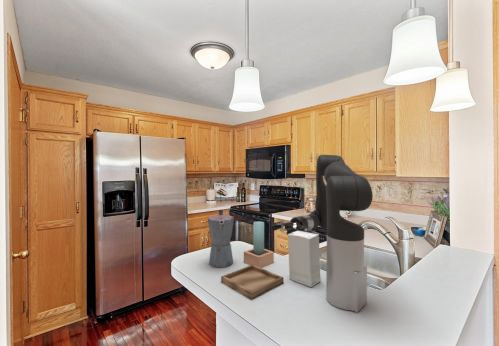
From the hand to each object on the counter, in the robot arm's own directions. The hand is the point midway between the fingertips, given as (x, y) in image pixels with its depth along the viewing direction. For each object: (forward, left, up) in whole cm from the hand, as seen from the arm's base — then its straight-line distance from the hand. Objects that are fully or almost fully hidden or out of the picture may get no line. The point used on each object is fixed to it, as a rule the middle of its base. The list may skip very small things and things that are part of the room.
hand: (279, 230), depth 97 cm
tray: (-10, +25, -10) cm, 29 cm away
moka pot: (+9, +23, -10) cm, 27 cm away
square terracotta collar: (0, +12, -10) cm, 16 cm away
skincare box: (-20, +12, -10) cm, 25 cm away
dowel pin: (0, +12, -10) cm, 16 cm away
